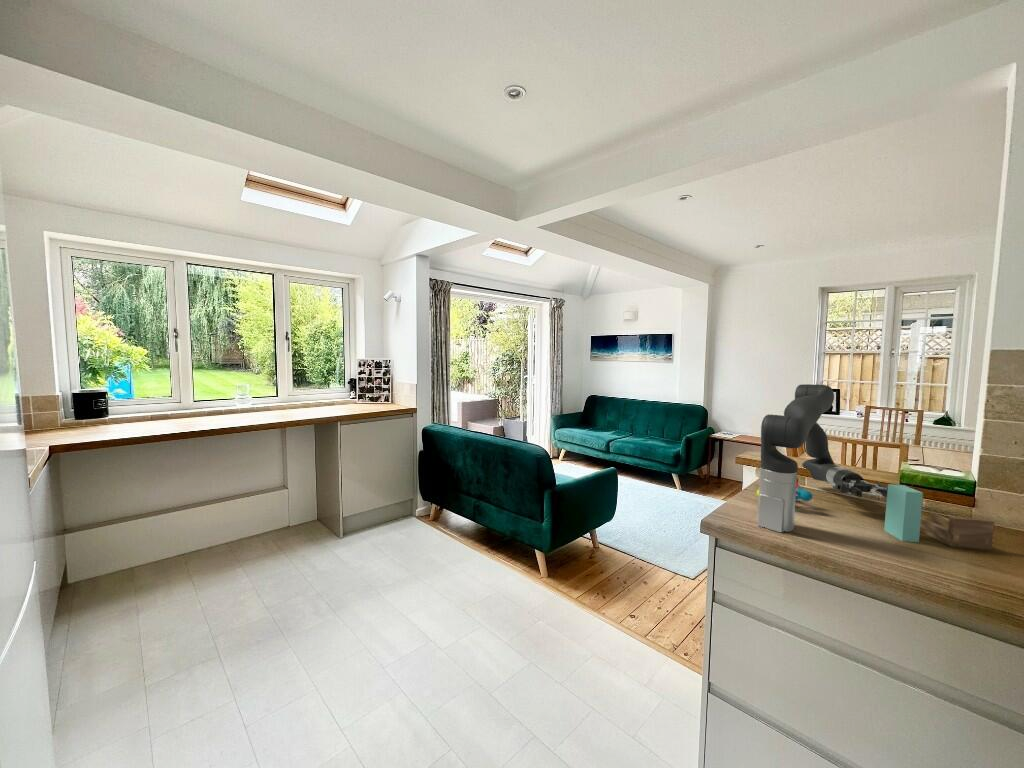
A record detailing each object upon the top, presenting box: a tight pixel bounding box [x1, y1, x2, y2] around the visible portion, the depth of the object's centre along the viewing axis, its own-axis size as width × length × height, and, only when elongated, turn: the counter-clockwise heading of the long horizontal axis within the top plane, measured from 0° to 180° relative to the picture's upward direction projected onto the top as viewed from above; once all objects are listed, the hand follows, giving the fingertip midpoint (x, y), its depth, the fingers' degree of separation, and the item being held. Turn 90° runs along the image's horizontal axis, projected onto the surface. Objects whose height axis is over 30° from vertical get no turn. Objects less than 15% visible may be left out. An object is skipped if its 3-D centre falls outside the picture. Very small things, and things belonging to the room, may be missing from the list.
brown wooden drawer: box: [920, 512, 995, 551], centre depth 119 cm, size 18×9×8 cm, turn 169°
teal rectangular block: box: [883, 483, 924, 543], centre depth 117 cm, size 7×4×14 cm, turn 169°
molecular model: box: [756, 477, 813, 502], centre depth 142 cm, size 15×10×15 cm
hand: (876, 495), depth 128 cm, fingers open, 8 cm apart
